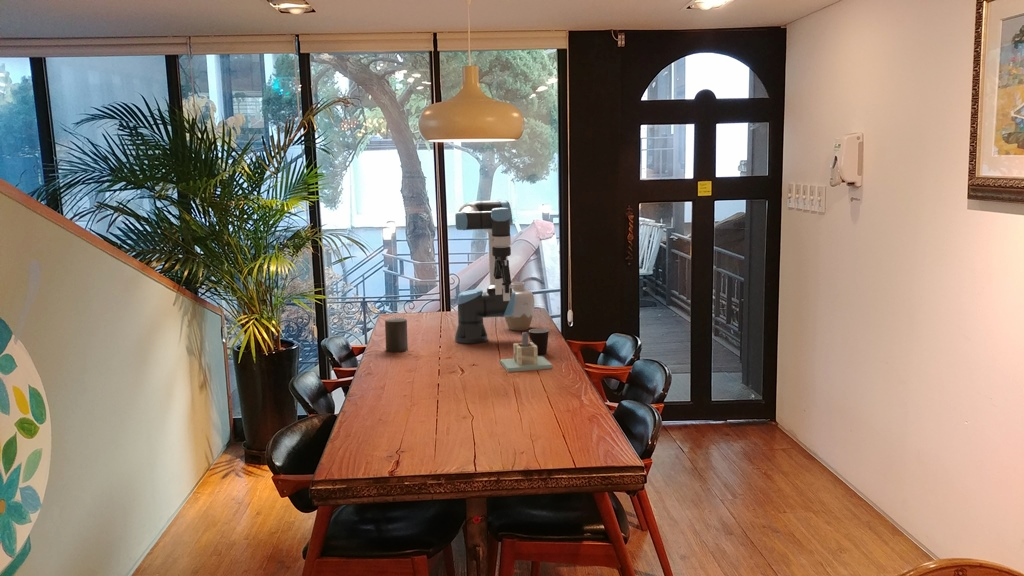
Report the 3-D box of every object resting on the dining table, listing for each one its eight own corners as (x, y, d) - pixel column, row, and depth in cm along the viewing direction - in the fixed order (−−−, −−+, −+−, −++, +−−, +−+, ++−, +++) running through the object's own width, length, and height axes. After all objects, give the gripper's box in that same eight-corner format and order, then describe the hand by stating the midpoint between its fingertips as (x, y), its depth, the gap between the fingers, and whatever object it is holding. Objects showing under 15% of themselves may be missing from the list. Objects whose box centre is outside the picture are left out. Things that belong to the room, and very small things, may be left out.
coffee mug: (547, 356, 340) (547, 333, 338) (527, 355, 342) (526, 332, 340) (551, 349, 351) (551, 327, 350) (532, 349, 353) (531, 327, 351)
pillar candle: (393, 353, 352) (392, 319, 350) (381, 349, 359) (380, 316, 357) (412, 349, 358) (411, 316, 356) (400, 346, 366) (399, 314, 363)
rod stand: (500, 362, 331) (499, 330, 329) (542, 359, 334) (541, 327, 332) (507, 371, 316) (507, 338, 314) (552, 368, 320) (551, 335, 318)
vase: (515, 324, 408) (514, 279, 405) (541, 327, 399) (540, 281, 395) (496, 329, 396) (495, 284, 392) (522, 333, 386) (521, 286, 383)
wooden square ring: (513, 360, 328) (513, 343, 327) (532, 358, 330) (532, 342, 329) (518, 365, 320) (517, 348, 319) (537, 363, 322) (537, 346, 321)
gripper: (485, 242, 337) (487, 292, 341) (499, 250, 313) (501, 304, 317) (503, 241, 339) (504, 291, 343) (518, 249, 315) (519, 302, 319)
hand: (502, 297), depth 330 cm, fingers open, 13 cm apart
